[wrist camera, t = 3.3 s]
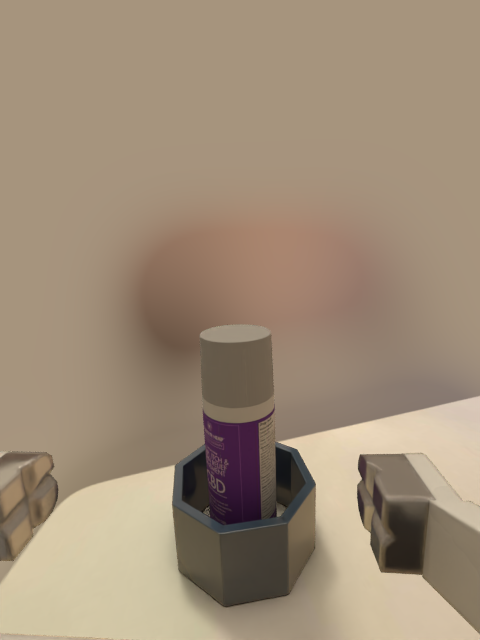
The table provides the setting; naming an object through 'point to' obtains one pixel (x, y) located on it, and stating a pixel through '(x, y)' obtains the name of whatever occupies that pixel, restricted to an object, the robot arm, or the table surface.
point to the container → (239, 422)
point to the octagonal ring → (244, 533)
